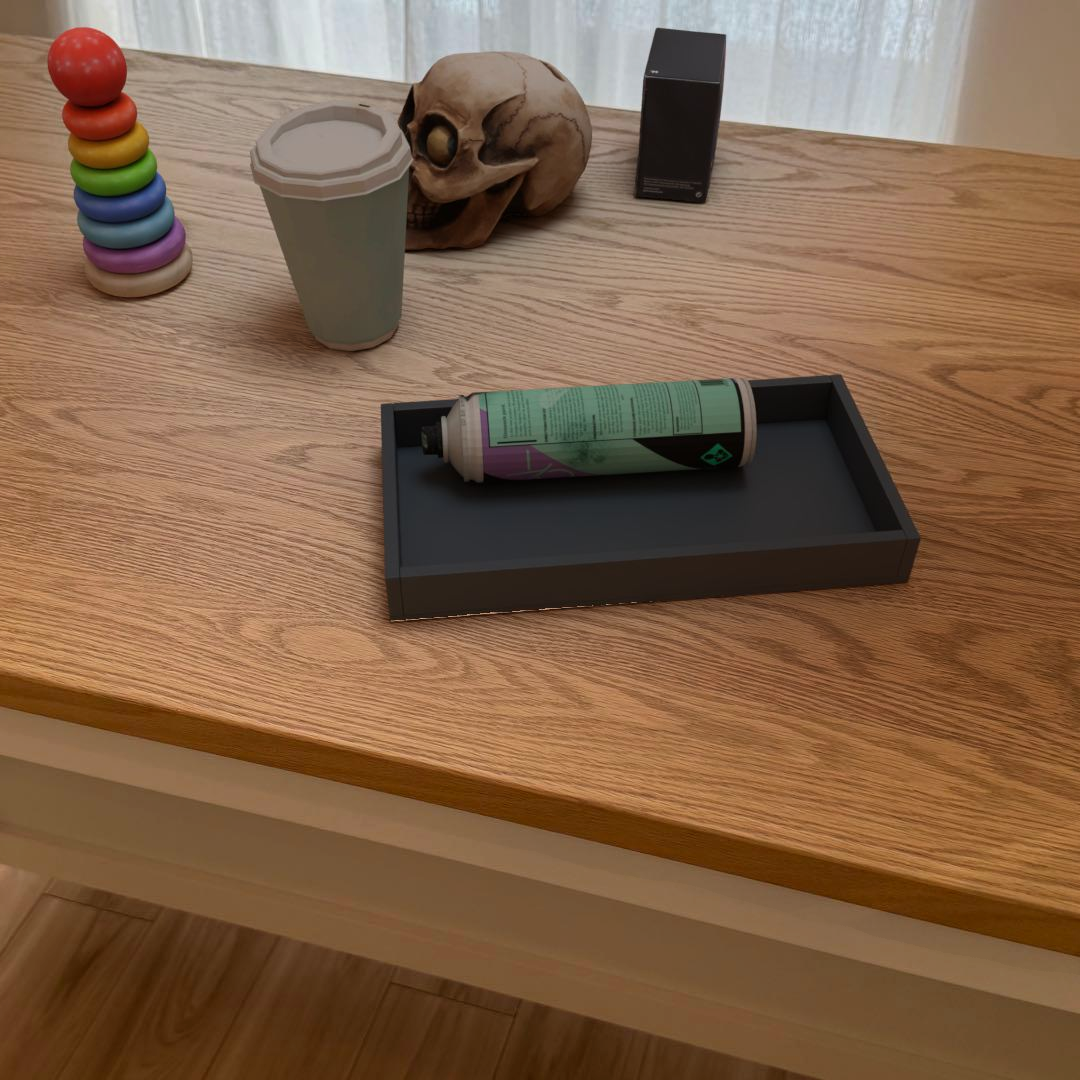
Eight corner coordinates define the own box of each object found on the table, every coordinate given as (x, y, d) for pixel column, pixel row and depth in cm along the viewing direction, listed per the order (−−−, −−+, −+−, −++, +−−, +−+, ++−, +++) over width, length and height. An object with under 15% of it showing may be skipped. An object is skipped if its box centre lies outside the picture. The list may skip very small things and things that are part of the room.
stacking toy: (77, 262, 97) (7, 18, 84) (178, 238, 99) (125, -3, 86) (102, 312, 92) (31, 60, 79) (207, 285, 94) (156, 37, 81)
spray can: (731, 397, 80) (421, 415, 79) (749, 363, 75) (417, 381, 73) (742, 478, 79) (425, 497, 77) (761, 448, 73) (422, 468, 72)
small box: (710, 205, 103) (723, 81, 96) (632, 199, 104) (639, 76, 97) (717, 148, 111) (730, 30, 104) (644, 143, 112) (652, 25, 105)
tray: (832, 417, 82) (841, 373, 80) (908, 582, 71) (921, 538, 69) (385, 447, 80) (380, 403, 78) (390, 623, 69) (384, 578, 66)
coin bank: (338, 235, 99) (335, 65, 91) (446, 167, 112) (452, 13, 103) (511, 289, 95) (525, 115, 86) (604, 212, 107) (623, 54, 99)
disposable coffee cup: (370, 385, 85) (347, 182, 75) (246, 342, 89) (207, 143, 78) (452, 311, 92) (442, 115, 81) (334, 274, 95) (309, 82, 85)
